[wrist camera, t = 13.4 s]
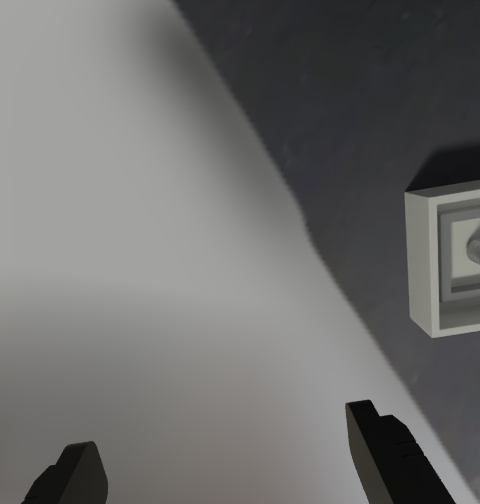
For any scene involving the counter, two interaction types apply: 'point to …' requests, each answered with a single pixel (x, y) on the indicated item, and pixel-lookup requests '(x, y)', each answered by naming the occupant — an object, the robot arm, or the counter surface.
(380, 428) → the robot arm
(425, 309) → the walled box
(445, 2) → the counter surface
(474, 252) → the lightbulb
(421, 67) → the counter surface
